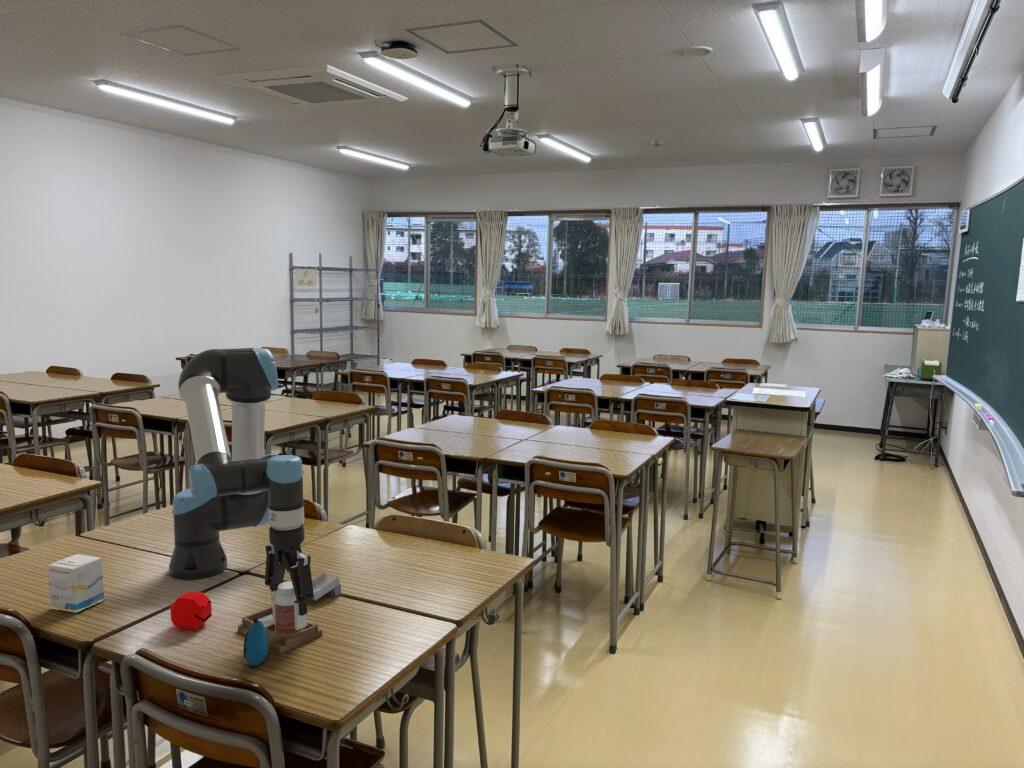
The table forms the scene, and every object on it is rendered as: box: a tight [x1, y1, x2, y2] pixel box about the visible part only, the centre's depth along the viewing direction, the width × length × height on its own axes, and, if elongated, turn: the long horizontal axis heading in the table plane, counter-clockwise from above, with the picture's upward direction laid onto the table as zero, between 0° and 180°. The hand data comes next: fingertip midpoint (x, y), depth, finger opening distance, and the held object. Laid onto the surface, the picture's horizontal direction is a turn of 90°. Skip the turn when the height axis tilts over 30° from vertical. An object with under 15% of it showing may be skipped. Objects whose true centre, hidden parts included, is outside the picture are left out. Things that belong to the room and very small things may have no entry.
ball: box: [169, 591, 213, 631], centre depth 168 cm, size 8×8×8 cm
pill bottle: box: [275, 580, 303, 637], centre depth 162 cm, size 6×6×11 cm
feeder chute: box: [311, 571, 342, 601], centre depth 185 cm, size 6×8×5 cm
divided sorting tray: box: [237, 606, 323, 654], centre depth 165 cm, size 17×11×3 cm, turn 52°
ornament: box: [243, 618, 269, 667], centre depth 151 cm, size 8×5×10 cm, turn 5°
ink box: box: [47, 553, 105, 610], centre depth 179 cm, size 9×8×12 cm
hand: (289, 622), depth 163 cm, fingers open, 8 cm apart
